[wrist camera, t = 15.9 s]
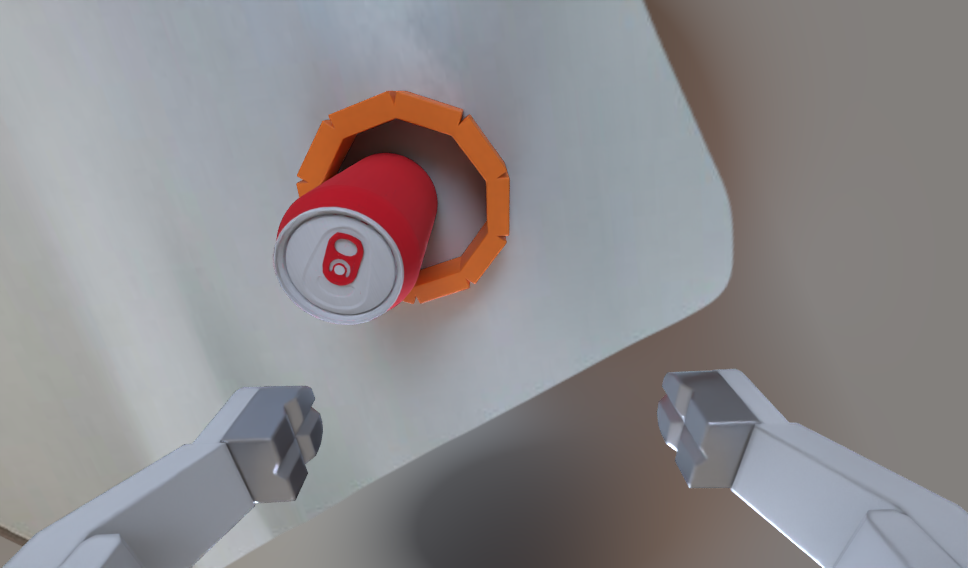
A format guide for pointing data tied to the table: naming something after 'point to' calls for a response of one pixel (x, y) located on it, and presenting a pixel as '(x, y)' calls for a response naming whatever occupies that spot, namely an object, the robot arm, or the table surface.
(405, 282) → the beverage can
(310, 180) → the ring
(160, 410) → the table surface
